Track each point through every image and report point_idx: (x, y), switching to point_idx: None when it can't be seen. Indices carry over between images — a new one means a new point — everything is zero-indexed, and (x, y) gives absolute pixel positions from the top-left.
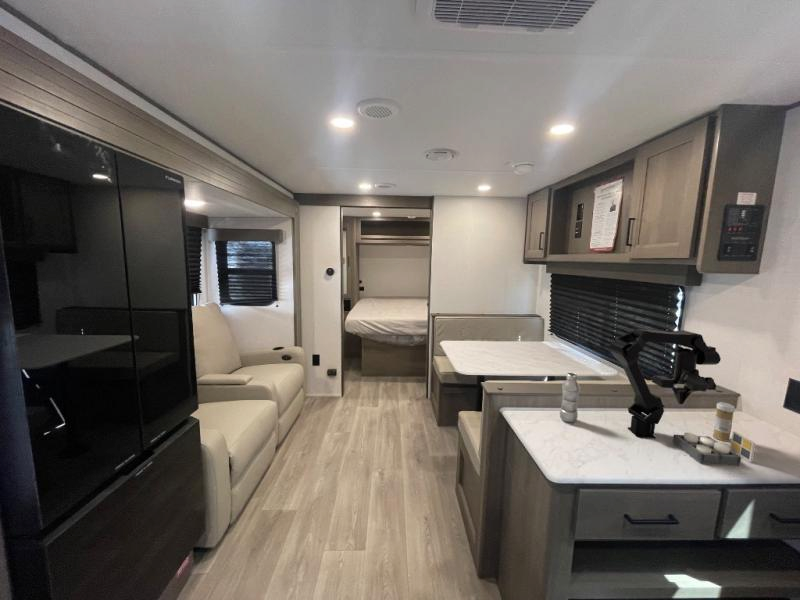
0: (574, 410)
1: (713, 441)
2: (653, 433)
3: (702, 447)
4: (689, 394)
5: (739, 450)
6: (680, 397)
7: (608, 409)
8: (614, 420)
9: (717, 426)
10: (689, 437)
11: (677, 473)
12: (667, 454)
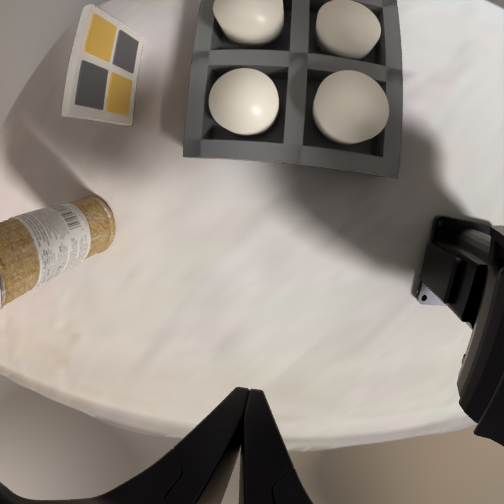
0: None
1: (222, 81)
2: (434, 242)
3: (355, 26)
4: (138, 478)
5: (125, 77)
6: (286, 457)
7: (400, 435)
8: (461, 363)
9: (76, 235)
10: (380, 88)
11: (491, 12)
12: (470, 94)
